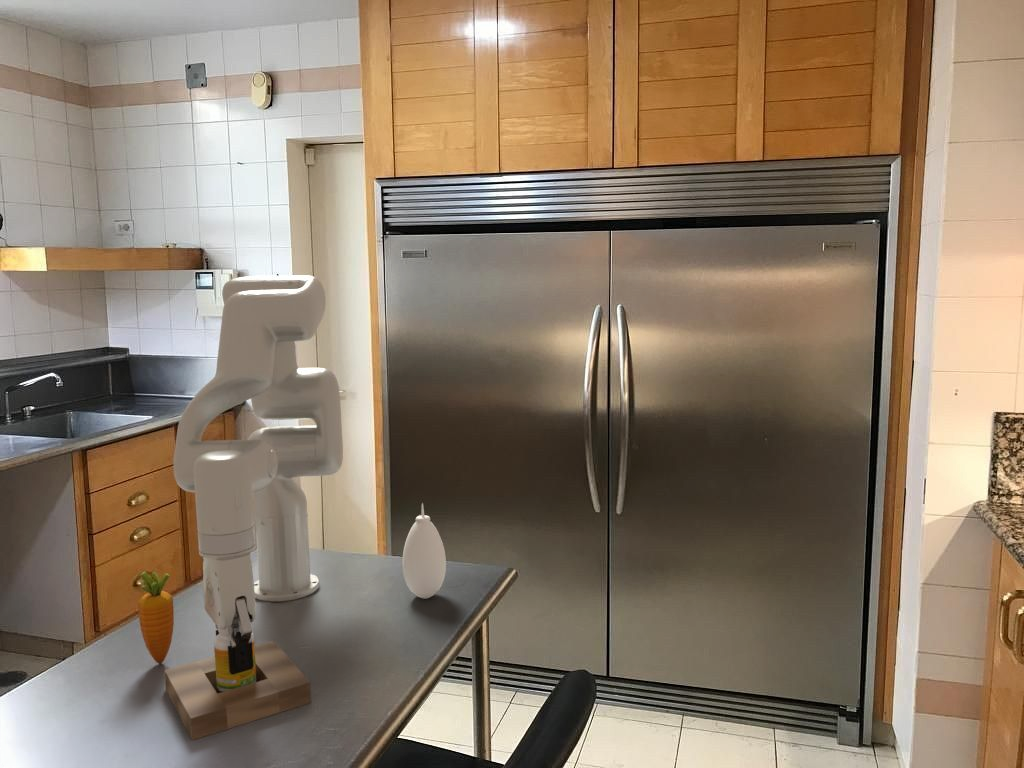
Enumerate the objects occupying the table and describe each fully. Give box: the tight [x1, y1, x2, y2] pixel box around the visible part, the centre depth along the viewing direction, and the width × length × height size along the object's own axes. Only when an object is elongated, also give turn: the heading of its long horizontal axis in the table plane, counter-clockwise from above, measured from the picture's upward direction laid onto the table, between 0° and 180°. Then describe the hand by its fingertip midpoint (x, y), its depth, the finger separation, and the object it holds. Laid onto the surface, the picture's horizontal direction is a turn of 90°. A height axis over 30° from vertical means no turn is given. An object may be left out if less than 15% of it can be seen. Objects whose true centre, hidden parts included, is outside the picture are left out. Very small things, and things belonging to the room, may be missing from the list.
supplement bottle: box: [213, 618, 256, 692], centre depth 116 cm, size 5×5×10 cm
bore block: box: [164, 640, 312, 741], centre depth 116 cm, size 16×16×3 cm
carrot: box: [137, 571, 175, 665], centre depth 126 cm, size 5×5×15 cm
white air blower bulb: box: [402, 502, 447, 599], centre depth 150 cm, size 8×8×18 cm
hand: (235, 661), depth 116 cm, fingers closed on supplement bottle, 5 cm apart
